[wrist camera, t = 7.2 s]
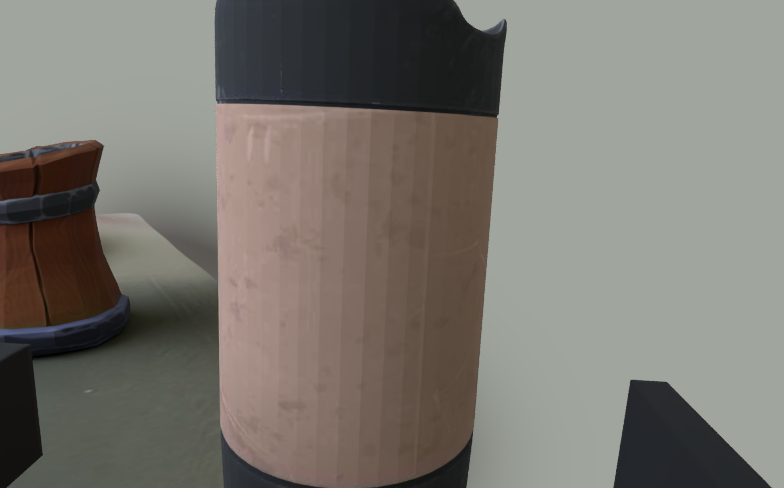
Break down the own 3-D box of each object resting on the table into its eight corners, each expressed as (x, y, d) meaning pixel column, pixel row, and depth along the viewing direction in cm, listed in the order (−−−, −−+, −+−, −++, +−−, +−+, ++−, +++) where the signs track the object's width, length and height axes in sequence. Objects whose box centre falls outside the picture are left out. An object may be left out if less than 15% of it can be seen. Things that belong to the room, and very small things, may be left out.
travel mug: (244, 554, 22) (236, 29, 17) (429, 543, 23) (466, 45, 18) (203, 779, 14) (170, -39, 10) (481, 749, 15) (564, -6, 11)
